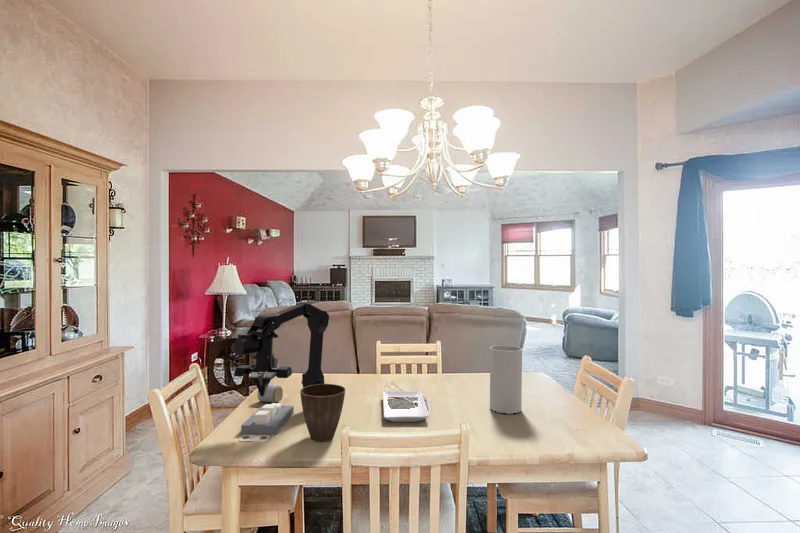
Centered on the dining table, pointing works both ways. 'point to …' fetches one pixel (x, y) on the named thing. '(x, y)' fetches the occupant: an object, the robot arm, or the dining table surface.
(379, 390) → the dining table surface
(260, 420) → the button
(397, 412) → the tray
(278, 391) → the ceramic mug
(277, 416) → the button board
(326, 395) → the plant pot
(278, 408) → the button
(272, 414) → the button middle
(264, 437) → the pattern card
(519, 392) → the cylinder vase
